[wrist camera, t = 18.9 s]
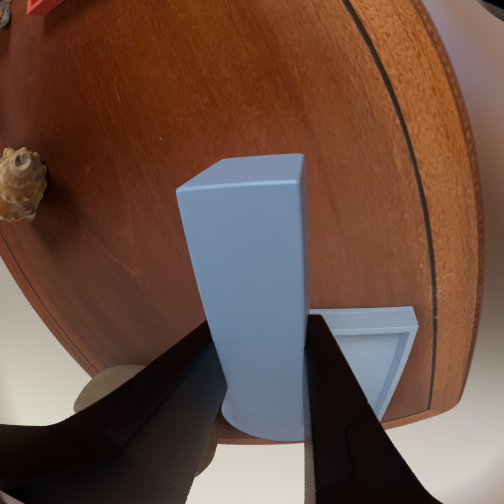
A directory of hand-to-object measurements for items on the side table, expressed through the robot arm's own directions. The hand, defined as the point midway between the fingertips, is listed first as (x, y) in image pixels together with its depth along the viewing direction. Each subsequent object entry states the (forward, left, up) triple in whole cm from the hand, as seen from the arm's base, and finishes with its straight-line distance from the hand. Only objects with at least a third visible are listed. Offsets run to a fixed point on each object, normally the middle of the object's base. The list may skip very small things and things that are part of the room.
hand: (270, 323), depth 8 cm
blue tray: (-3, +17, -11) cm, 20 cm away
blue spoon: (0, +1, -1) cm, 2 cm away
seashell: (+24, -6, -11) cm, 27 cm away
